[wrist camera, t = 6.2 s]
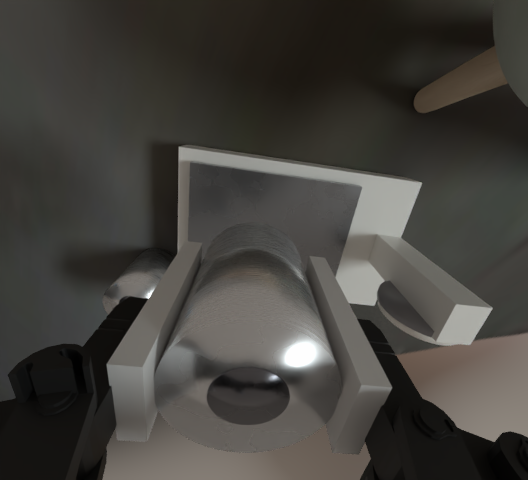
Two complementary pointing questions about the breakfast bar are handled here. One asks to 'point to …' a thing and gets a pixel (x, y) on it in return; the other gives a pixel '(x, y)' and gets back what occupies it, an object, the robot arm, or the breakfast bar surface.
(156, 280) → the spacer
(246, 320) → the spacer
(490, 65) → the planter
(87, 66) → the breakfast bar surface
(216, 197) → the pan
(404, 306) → the scale
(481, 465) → the robot arm
